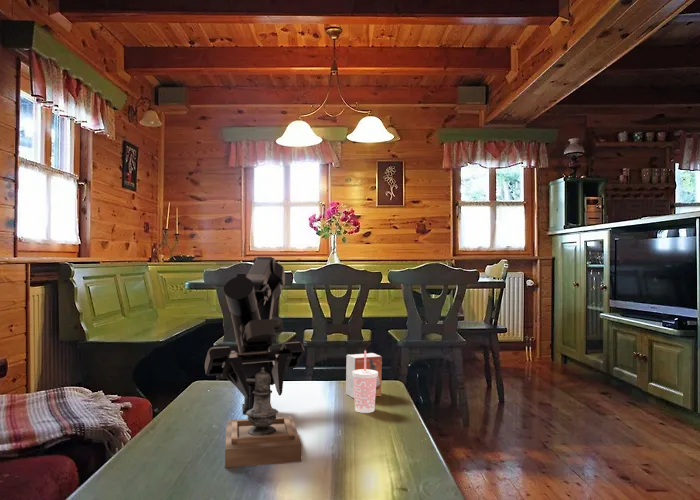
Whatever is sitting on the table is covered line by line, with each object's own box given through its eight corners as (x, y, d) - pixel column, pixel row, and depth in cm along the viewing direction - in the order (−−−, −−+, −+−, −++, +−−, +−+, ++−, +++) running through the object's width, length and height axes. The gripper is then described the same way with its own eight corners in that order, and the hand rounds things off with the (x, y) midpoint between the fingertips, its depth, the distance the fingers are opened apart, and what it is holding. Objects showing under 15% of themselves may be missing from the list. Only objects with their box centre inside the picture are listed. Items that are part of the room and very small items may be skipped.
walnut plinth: (226, 435, 101) (227, 416, 101) (291, 431, 104) (292, 412, 104) (224, 467, 85) (225, 444, 85) (301, 461, 88) (301, 439, 88)
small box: (353, 399, 129) (354, 357, 129) (345, 394, 134) (345, 354, 134) (382, 396, 132) (382, 355, 132) (372, 391, 137) (372, 352, 137)
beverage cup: (346, 409, 120) (347, 349, 120) (366, 404, 124) (366, 347, 124) (363, 415, 115) (363, 353, 116) (383, 410, 119) (383, 351, 119)
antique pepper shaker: (265, 438, 91) (266, 371, 91) (239, 433, 93) (240, 368, 94) (283, 429, 96) (284, 365, 96) (258, 424, 99) (259, 362, 99)
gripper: (208, 304, 94) (221, 376, 84) (301, 301, 103) (323, 366, 93) (199, 340, 101) (210, 411, 91) (287, 335, 110) (306, 399, 100)
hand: (264, 396), depth 94 cm, fingers open, 6 cm apart
